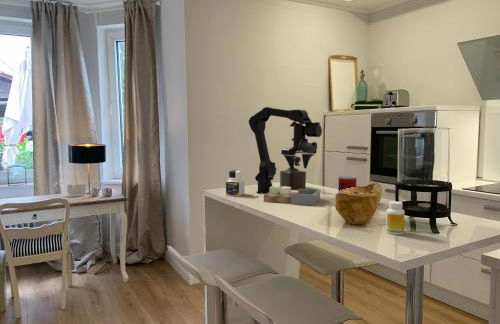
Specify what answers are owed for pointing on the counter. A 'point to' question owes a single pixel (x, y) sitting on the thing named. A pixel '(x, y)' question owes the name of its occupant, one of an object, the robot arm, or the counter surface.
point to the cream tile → (285, 190)
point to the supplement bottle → (395, 218)
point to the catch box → (306, 197)
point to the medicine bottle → (235, 184)
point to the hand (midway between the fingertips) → (298, 169)
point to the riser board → (278, 197)
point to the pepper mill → (293, 177)
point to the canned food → (346, 182)
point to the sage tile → (274, 189)
